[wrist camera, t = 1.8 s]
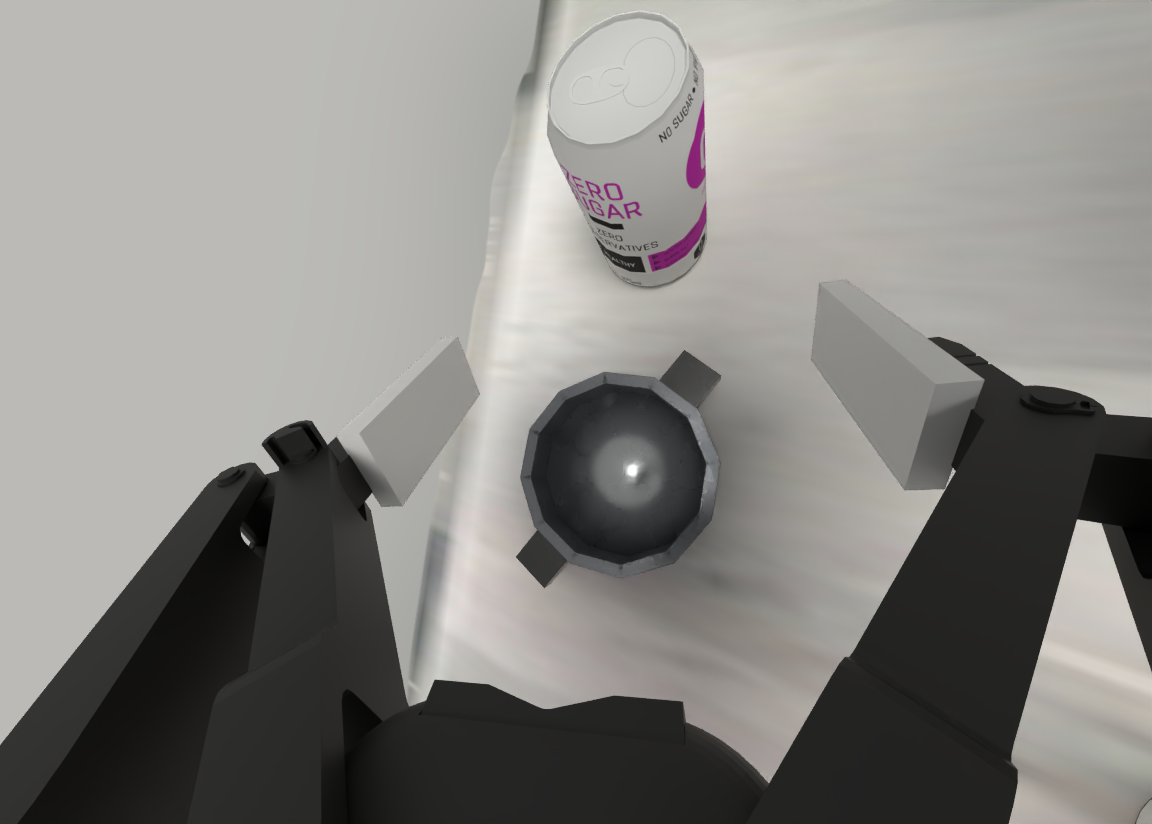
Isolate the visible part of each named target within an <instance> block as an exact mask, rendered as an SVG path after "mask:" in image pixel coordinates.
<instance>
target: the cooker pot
mask: <svg viewBox="0 0 1152 824" xmlns="http://www.w3.org/2000/svg"><path fill="white" fill-rule="evenodd" d="M720 380H721V375H719V374H718V373H717V372H715V371H714V370H712V369H711V368H709V367H708V366H707V365H705V364H704V363H702V362H701V361H699V360H698V359H696V358H695V357H694V356H692V355H691V354H689V353H688V352H686V351H685V350H684V351H683V352H682V354H681V355H680V356H679V357H678V358H677V360H676V361H675V362H674V363H673V365H672V366H671V367H670V368H669V369H668V371H667V372H666V373H665V374H664V376H663V377H662V378H661V379H660V381H659V380H657V379H656V378H653V377H645V376H636V375H627V374H618V373H609V372H603V373H601V374H599V375H596V376H594V377H592V378H589V379H587V380H585V381H582V382H580V383H578V384H575V385H573V386H571V387H568V388H566V389H564V390H561V391H560V392H558V394H557V395H556V396H555V398H554V399H553V400H552V401H551V403H550V404H549V405H548V406H547V408H546V409H545V410H544V412H543V413H542V414H541V415H540V417H539V418H538V419H537V420H536V422H535V423H534V424H533V426H532V427H531V428H530V430H529V434H528V440H527V445H526V450H525V455H524V461H523V466H522V471H521V476H520V477H521V478H520V479H521V482H522V486H523V489H524V493H525V496H526V499H527V503H528V506H529V510H530V513H531V517H532V520H533V523H534V526H535V527H536V529H537V531H536V533H535V534H534V535H533V536H532V538H531V539H530V540H529V541H528V543H527V544H526V545H525V546H524V547H523V549H522V550H521V551H520V552H519V554H518V555H517V556H516V558H517V559H518V560H519V561H520V562H521V563H522V564H523V565H524V566H525V567H526V569H527V570H528V571H529V572H530V573H531V574H532V575H533V576H534V577H535V578H536V580H537V581H538V582H539V583H540V584H541V585H542V586H543V587H544V588H545V587H547V586H548V585H549V584H551V583H552V581H553V580H554V579H555V578H556V577H557V575H558V574H559V573H560V572H561V571H562V569H563V568H564V567H565V566H566V565H567V563H568V562H569V563H571V564H574V565H577V566H581V567H584V568H588V569H591V570H595V571H598V572H602V573H605V574H609V575H612V576H616V577H619V578H624V577H628V576H631V575H635V574H638V573H641V572H645V571H648V570H652V569H655V568H659V567H662V566H666V565H669V564H673V563H675V562H676V561H677V559H678V558H679V557H680V556H681V555H682V554H683V553H684V551H685V550H686V549H687V548H688V547H689V546H690V544H691V543H692V542H693V541H694V540H695V539H696V538H697V536H698V535H699V534H700V533H701V532H702V531H703V529H704V528H705V527H706V526H707V525H708V524H709V522H710V521H711V520H712V515H713V508H714V501H715V495H716V488H717V481H718V475H719V468H720V461H719V458H718V456H717V453H716V451H715V449H714V446H713V444H712V441H711V439H710V437H709V434H708V432H707V430H706V427H705V425H704V422H703V420H702V418H701V415H700V413H699V410H698V409H696V408H697V407H698V406H699V405H700V404H701V402H702V401H703V400H704V399H705V398H706V396H707V395H708V394H709V393H710V392H711V390H712V389H713V388H714V387H715V386H716V384H717V383H718V382H719V381H720Z"/></svg>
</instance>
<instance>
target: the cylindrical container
mask: <svg viewBox="0 0 1152 824" xmlns="http://www.w3.org/2000/svg"><path fill="white" fill-rule="evenodd" d="M1136 824H1152V799H1151V800H1150V801H1149V802H1148V803H1147V804H1146V805H1145V807H1144V808H1143V809H1142V811H1141V812H1140V814H1139V817H1138V819H1137V822H1136Z"/></svg>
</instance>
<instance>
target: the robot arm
mask: <svg viewBox="0 0 1152 824" xmlns="http://www.w3.org/2000/svg"><path fill="white" fill-rule="evenodd" d="M811 360H812V362H813V363H814V364H815V366H816V367H817V369H818V370H819V371H820V373H821V374H822V376H823V377H824V378H825V380H826V381H827V383H828V384H829V385H830V387H831V388H832V390H833V391H834V392H835V394H836V395H837V397H838V398H839V399H840V401H841V402H842V404H843V405H844V406H845V408H846V409H847V411H848V412H849V413H850V415H851V416H852V418H853V419H854V420H855V422H856V423H857V425H858V426H859V427H860V429H861V430H862V432H863V433H864V434H865V436H866V437H867V439H868V440H869V441H870V443H871V444H872V446H873V447H874V448H875V450H876V451H877V453H878V454H879V455H880V457H881V458H882V460H883V461H884V462H885V464H886V465H887V467H888V468H889V469H890V471H891V472H892V474H893V475H894V476H895V478H896V479H897V481H898V482H899V483H900V485H901V486H902V488H903V489H904V490H930V489H945V487H946V485H947V482H948V479H949V476H950V474H951V471H952V468H954V469H955V470H956V472H955V474H954V476H953V477H952V479H951V481H950V483H949V484H948V486H947V488H946V490H945V491H944V493H943V495H942V497H941V498H940V500H939V502H938V504H937V506H936V507H935V509H934V511H933V513H932V514H931V516H930V518H929V520H928V521H927V523H926V525H925V527H924V528H923V530H922V532H921V534H920V535H919V537H918V539H917V541H916V542H915V544H914V546H913V548H912V550H911V551H910V553H909V555H908V557H907V558H906V560H905V562H904V564H903V565H902V567H901V569H900V571H899V572H898V574H897V576H896V578H895V579H894V581H893V583H892V585H891V587H890V588H889V590H888V592H887V594H886V595H885V597H884V599H883V601H882V602H881V604H880V606H879V608H878V609H877V611H876V613H875V615H874V616H873V618H872V620H871V622H870V623H869V625H868V627H867V629H866V631H865V632H864V634H863V636H862V638H861V639H860V641H859V643H858V645H857V646H856V648H855V650H854V651H853V653H852V654H851V655H850V657H845V658H844V659H843V660H842V661H841V663H840V664H839V665H838V667H837V668H836V670H835V672H834V673H833V675H832V676H831V678H830V680H829V682H828V683H827V685H826V687H825V688H824V690H823V692H822V694H821V695H820V697H819V699H818V701H817V702H816V704H815V706H814V707H813V709H812V711H811V713H810V714H809V716H808V718H807V719H806V721H805V723H804V725H803V726H802V728H801V730H800V732H799V733H798V735H797V737H796V738H795V740H794V742H793V744H792V745H791V747H790V749H789V751H788V752H787V754H786V756H785V757H784V759H783V761H782V763H781V764H780V766H779V768H778V770H777V771H776V773H775V775H774V776H773V778H772V780H771V782H770V783H768V782H767V781H766V780H765V779H764V778H763V777H762V775H761V774H760V773H759V772H758V771H757V770H756V769H755V768H754V767H753V766H752V765H751V764H750V763H749V762H748V761H746V760H745V759H744V758H743V757H742V756H741V755H740V754H739V753H738V752H736V751H735V750H734V749H732V748H731V747H730V746H728V745H727V744H726V743H724V742H723V741H721V740H720V739H718V738H717V737H715V736H713V735H711V734H710V733H708V732H706V731H704V730H703V729H700V728H698V727H696V726H693V725H691V724H689V723H686V720H685V713H684V706H683V702H680V701H669V700H658V699H647V698H635V697H624V696H611V697H606V698H601V699H596V700H592V701H587V702H582V703H577V704H573V705H568V706H563V707H558V708H554V709H542V708H539V707H537V706H534V705H532V704H530V703H528V702H526V701H524V700H521V699H519V698H517V697H515V696H513V695H510V694H508V693H506V692H504V691H502V690H500V689H497V688H495V687H493V686H491V685H489V684H478V683H467V682H455V681H444V680H434V683H433V685H432V688H431V690H430V692H429V695H428V697H427V700H426V701H424V702H421V703H418V704H416V705H413V706H410V707H409V706H408V703H407V700H406V696H405V690H404V686H403V680H402V675H401V669H400V664H399V658H398V653H397V648H396V642H395V637H394V632H393V626H392V621H391V616H390V610H389V605H388V599H387V594H386V589H385V583H384V578H383V573H382V568H381V562H380V557H379V551H378V546H377V541H376V536H375V530H374V525H373V519H372V514H371V510H370V509H369V507H368V505H367V504H366V503H365V500H366V499H367V498H368V497H369V496H370V495H371V493H373V495H374V496H375V498H376V499H377V501H378V502H379V504H380V506H381V507H390V506H403V505H404V503H405V502H406V501H407V499H408V498H409V496H410V495H411V493H412V492H413V490H414V489H415V487H416V486H417V485H418V483H419V482H420V480H421V479H422V477H423V476H424V475H425V473H426V471H427V470H428V469H429V467H430V466H431V464H432V463H433V461H434V460H435V458H436V457H437V456H438V454H439V453H440V451H441V450H442V448H443V447H444V446H445V444H446V443H447V441H448V440H449V438H450V437H451V435H452V434H453V433H454V431H455V430H456V428H457V427H458V425H459V424H460V422H461V421H462V420H463V418H464V417H465V415H466V414H467V412H468V411H469V409H470V408H471V407H472V405H473V404H474V402H475V401H476V399H477V398H478V396H479V395H480V393H479V390H478V388H477V385H476V383H475V380H474V377H473V375H472V372H471V370H470V367H469V364H468V362H467V359H466V356H465V354H464V351H463V349H462V346H461V344H460V341H459V338H458V336H455V337H448V338H441V339H440V340H439V341H438V342H437V343H436V344H435V345H433V346H432V347H431V348H430V349H429V350H428V351H427V352H426V353H425V354H424V355H423V356H421V358H419V359H418V360H417V361H416V362H415V363H414V364H413V365H412V366H411V367H409V368H408V369H407V370H406V371H405V372H404V373H403V374H402V375H401V376H400V377H399V378H398V379H396V380H395V382H393V383H392V384H391V385H390V386H389V387H388V388H387V389H386V390H384V391H383V392H382V393H381V394H380V395H379V396H378V397H377V398H376V399H375V400H374V401H373V402H372V403H370V404H369V405H368V406H367V407H366V408H365V409H364V410H363V411H362V412H361V413H360V414H358V415H357V416H356V417H355V418H354V419H353V420H352V421H351V422H350V423H349V424H348V425H347V426H345V427H344V428H343V429H342V430H341V431H340V432H339V433H338V434H337V435H336V436H337V437H336V438H335V439H334V440H332V441H331V442H330V443H329V444H328V445H327V444H326V442H325V440H324V439H323V437H322V436H321V434H320V433H319V431H318V430H317V428H316V427H315V425H314V424H313V422H312V421H307V420H305V421H299V422H296V423H293V424H290V425H288V426H285V427H283V428H281V429H279V430H277V431H276V432H274V433H272V434H271V435H270V436H269V437H267V438H266V439H265V440H264V442H263V443H262V446H263V447H264V449H265V450H266V451H267V452H268V454H269V455H270V456H271V458H272V459H273V460H274V462H275V463H276V464H277V466H278V467H279V471H277V472H273V473H270V474H266V475H265V474H264V473H263V472H262V471H261V469H260V468H259V467H258V466H257V465H256V464H255V463H246V464H241V465H239V466H236V467H231V468H229V469H227V470H225V471H223V472H221V473H220V474H219V476H217V477H216V478H215V479H213V480H212V481H211V482H210V483H209V484H208V485H207V486H206V487H205V488H204V490H203V491H202V492H201V493H200V495H199V496H198V497H197V498H196V500H195V501H194V502H193V503H192V505H191V506H190V507H189V508H188V510H187V511H186V512H185V513H184V515H183V516H182V517H181V518H180V520H179V521H178V522H177V523H176V525H175V526H174V527H173V528H172V530H171V531H170V532H169V533H168V535H167V536H166V537H165V539H164V540H163V541H162V542H161V544H160V545H159V546H158V547H157V549H156V550H155V551H154V552H153V554H152V555H151V556H150V557H149V559H148V560H147V561H146V563H145V564H144V565H143V566H142V567H141V569H140V570H139V571H138V572H137V574H136V575H135V576H134V578H133V579H132V580H131V581H130V583H129V584H128V585H127V586H126V588H125V589H124V590H123V591H122V593H121V594H120V595H119V596H118V598H117V599H116V600H115V602H114V603H113V604H112V605H111V606H110V608H109V609H108V610H107V611H106V613H105V614H104V615H103V616H102V618H101V619H100V620H99V622H98V623H97V624H96V625H95V627H94V628H93V629H92V630H91V632H90V633H89V634H88V635H87V637H86V638H85V639H84V640H83V642H82V643H81V644H80V645H79V647H78V648H77V649H76V650H75V652H74V653H73V654H72V655H71V657H70V658H69V659H68V661H67V662H66V663H65V664H64V666H63V667H62V668H61V669H60V671H59V672H58V673H57V674H56V676H55V677H54V678H53V679H52V681H51V682H50V683H49V684H48V686H47V687H46V688H45V689H44V691H43V692H42V693H41V694H40V696H39V697H38V698H37V700H36V701H35V702H34V703H33V705H32V706H31V707H30V708H29V710H28V711H27V712H26V714H25V715H24V716H23V717H22V718H21V720H20V721H19V722H18V723H17V725H16V726H15V727H14V728H13V730H12V731H11V732H10V733H9V735H8V736H7V737H6V738H5V740H4V741H3V742H2V744H1V745H0V824H1009V820H1010V816H1011V812H1012V808H1013V804H1014V799H1015V794H1016V789H1017V784H1018V770H1017V768H1016V767H1015V766H1014V765H1013V764H1012V763H1011V754H1012V749H1013V745H1014V741H1015V738H1016V734H1017V730H1018V727H1019V723H1020V720H1021V716H1022V713H1023V709H1024V706H1025V702H1026V698H1027V695H1028V691H1029V688H1030V684H1031V681H1032V677H1033V674H1034V670H1035V666H1036V663H1037V659H1038V656H1039V652H1040V649H1041V645H1042V642H1043V638H1044V635H1045V631H1046V627H1047V624H1048V620H1049V617H1050V613H1051V610H1052V606H1053V603H1054V599H1055V595H1056V592H1057V588H1058V585H1059V581H1060V578H1061V574H1062V571H1063V567H1064V563H1065V560H1066V556H1067V553H1068V549H1069V546H1070V542H1071V539H1072V535H1073V531H1074V528H1075V524H1076V521H1077V519H1079V520H1085V521H1091V522H1097V523H1102V526H1103V529H1104V532H1105V535H1106V538H1107V541H1108V544H1109V547H1110V549H1111V552H1112V555H1113V558H1114V561H1115V564H1116V567H1117V570H1118V573H1119V576H1120V579H1121V582H1122V585H1123V588H1124V591H1125V594H1126V597H1127V600H1128V603H1129V606H1130V609H1131V612H1132V615H1133V618H1134V621H1135V624H1136V627H1137V630H1138V632H1139V635H1140V638H1141V641H1142V644H1143V647H1144V650H1145V653H1146V656H1147V659H1148V662H1149V665H1150V668H1151V671H1152V418H1150V417H1136V416H1122V415H1109V414H1106V411H1105V408H1104V406H1102V405H1101V404H1100V403H1098V402H1097V401H1095V400H1094V399H1092V398H1090V397H1087V396H1085V395H1082V394H1080V393H1077V392H1073V391H1069V390H1065V389H1060V388H1055V387H1046V386H1024V385H1022V384H1021V383H1019V382H1018V381H1016V380H1015V379H1013V378H1011V377H1010V376H1008V375H1007V374H1005V373H1004V372H1002V371H1001V370H999V369H998V368H996V367H995V366H993V365H992V364H988V362H987V361H986V360H984V359H983V358H981V357H980V356H976V354H975V353H974V352H972V351H971V350H969V349H968V348H966V347H965V346H963V345H962V344H959V343H956V342H953V341H950V340H947V339H944V338H941V337H933V338H926V337H925V336H923V335H922V334H921V333H919V332H918V331H916V330H915V329H914V328H912V327H911V326H910V325H908V324H907V323H905V322H904V321H903V320H901V319H900V318H899V317H897V316H896V315H894V314H893V313H892V312H890V311H889V310H887V309H886V308H885V307H883V306H882V305H881V304H879V303H878V302H876V301H875V300H874V299H872V298H871V297H870V296H868V295H867V294H865V293H864V292H863V291H861V290H860V289H859V288H857V287H856V286H854V285H853V284H852V283H850V282H849V281H847V280H839V281H832V282H825V283H819V291H818V300H817V310H816V319H815V328H814V338H813V347H812V356H811ZM240 531H241V532H242V533H243V535H245V537H246V538H247V539H248V540H249V541H250V544H249V546H248V545H247V544H246V543H245V542H244V540H243V539H242V537H241V532H240Z"/></svg>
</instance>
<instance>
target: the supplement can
mask: <svg viewBox="0 0 1152 824" xmlns="http://www.w3.org/2000/svg"><path fill="white" fill-rule="evenodd" d="M547 108H548V125H547V136H548V139H549V141H550V144H551V147H552V150H553V153H554V155H555V157H556V159H557V161H558V163H559V165H560V167H561V169H562V171H563V173H564V175H565V177H566V179H567V181H568V183H569V185H570V187H571V189H572V192H573V194H574V196H575V198H576V200H577V202H578V204H579V206H580V208H581V210H582V212H583V214H584V216H585V218H586V220H587V222H588V224H589V226H590V228H591V230H592V232H593V234H594V236H595V238H596V240H597V242H598V244H599V246H600V248H601V250H602V252H603V254H604V256H605V258H606V260H607V262H608V264H609V266H610V268H611V269H612V270H613V271H614V272H615V273H616V274H617V275H618V276H619V277H620V278H621V279H622V280H625V281H627V282H629V283H631V284H634V285H636V286H653V287H654V286H657V285H661V284H665V283H668V282H672V281H673V280H675V279H676V278H678V277H680V276H681V275H683V274H684V273H686V272H687V271H688V270H689V269H690V268H691V267H692V266H693V264H694V263H695V262H696V261H697V260H698V258H699V257H700V256H701V253H702V250H703V248H704V245H705V242H706V240H707V218H706V169H705V119H704V70H703V68H702V66H701V64H700V62H699V60H698V58H697V56H696V54H695V52H694V50H693V48H692V47H691V46H690V45H689V43H688V42H687V40H686V38H685V36H684V34H683V32H682V30H681V28H680V26H679V25H677V24H676V23H674V22H673V21H672V20H670V19H669V18H667V17H666V16H664V15H663V14H660V13H654V12H648V11H642V10H638V11H632V12H626V13H620V14H615V15H613V16H611V17H609V18H607V19H605V20H603V21H601V22H599V23H597V24H594V25H592V26H591V27H590V28H589V29H587V30H586V31H585V32H584V33H583V34H581V35H580V36H579V37H578V38H577V39H575V40H574V41H573V42H572V43H571V44H570V45H569V47H568V48H567V50H566V51H565V52H564V54H563V55H562V56H561V58H560V59H559V60H558V62H557V63H556V66H555V68H554V71H553V73H552V76H551V79H550V81H549V84H548V95H547Z"/></svg>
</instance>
